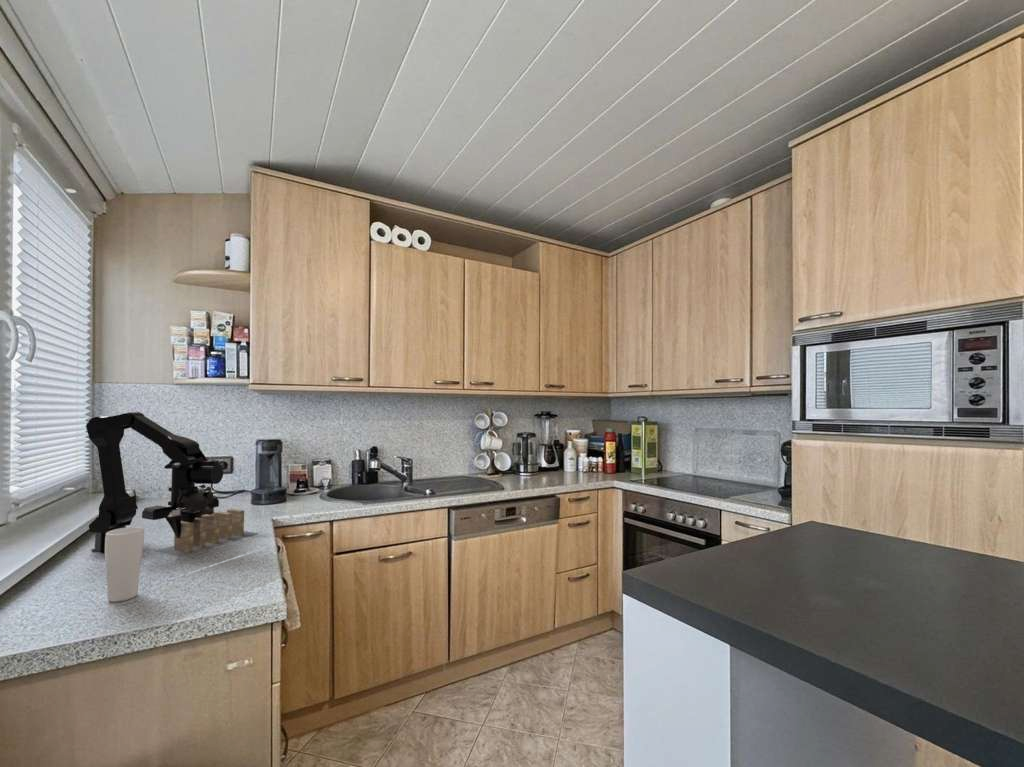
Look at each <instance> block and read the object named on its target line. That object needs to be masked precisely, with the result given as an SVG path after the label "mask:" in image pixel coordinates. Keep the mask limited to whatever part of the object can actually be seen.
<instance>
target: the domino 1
mask: <svg viewBox="0 0 1024 767" xmlns="http://www.w3.org/2000/svg"><path fill="white" fill-rule="evenodd" d="M193 524H194V523H191V522H185V521H182V520H181V535H180V538H177V537H176V535H175V533H174V537H173V538H174V539H173V542H174V543H173V546H174V550H179V551H184V552H190V551H193Z"/></svg>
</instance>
